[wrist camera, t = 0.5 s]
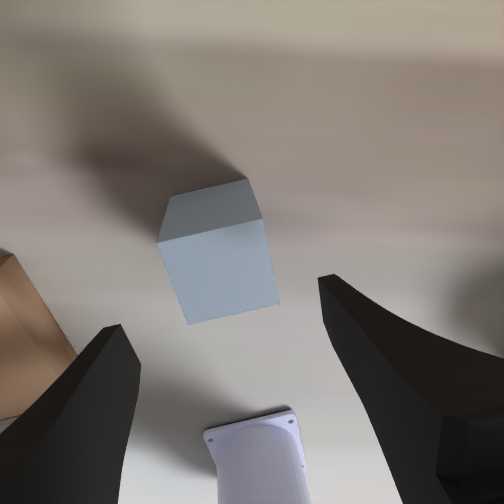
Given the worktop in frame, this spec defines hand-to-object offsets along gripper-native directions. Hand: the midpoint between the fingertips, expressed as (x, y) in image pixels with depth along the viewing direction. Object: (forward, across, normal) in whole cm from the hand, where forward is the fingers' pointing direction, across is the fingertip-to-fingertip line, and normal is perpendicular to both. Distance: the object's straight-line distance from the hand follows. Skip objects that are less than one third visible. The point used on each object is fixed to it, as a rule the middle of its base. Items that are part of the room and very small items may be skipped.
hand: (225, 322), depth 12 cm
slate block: (+9, 0, 0) cm, 9 cm away
